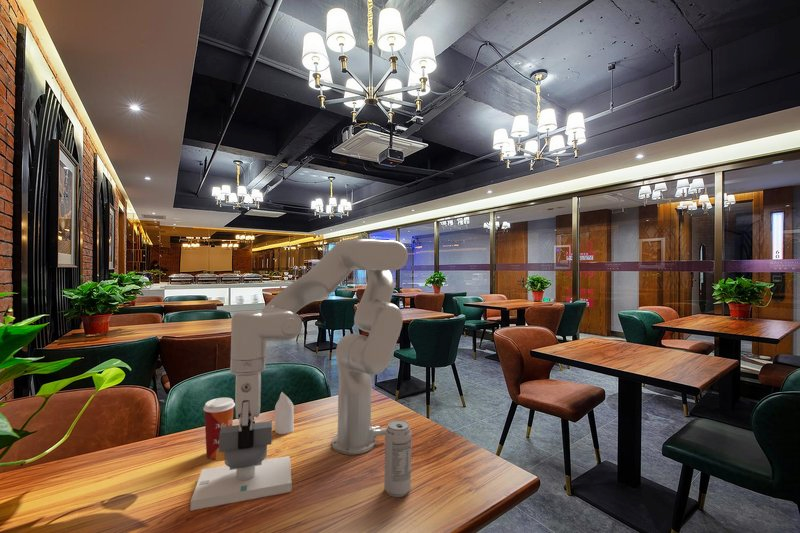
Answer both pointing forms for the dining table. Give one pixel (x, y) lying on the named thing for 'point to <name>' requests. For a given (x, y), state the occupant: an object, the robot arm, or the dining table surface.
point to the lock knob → (247, 455)
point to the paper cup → (216, 422)
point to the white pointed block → (284, 415)
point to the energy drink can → (397, 458)
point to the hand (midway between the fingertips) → (246, 442)
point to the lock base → (242, 483)
